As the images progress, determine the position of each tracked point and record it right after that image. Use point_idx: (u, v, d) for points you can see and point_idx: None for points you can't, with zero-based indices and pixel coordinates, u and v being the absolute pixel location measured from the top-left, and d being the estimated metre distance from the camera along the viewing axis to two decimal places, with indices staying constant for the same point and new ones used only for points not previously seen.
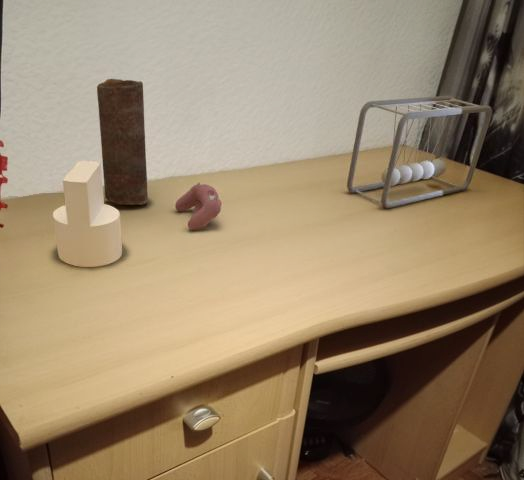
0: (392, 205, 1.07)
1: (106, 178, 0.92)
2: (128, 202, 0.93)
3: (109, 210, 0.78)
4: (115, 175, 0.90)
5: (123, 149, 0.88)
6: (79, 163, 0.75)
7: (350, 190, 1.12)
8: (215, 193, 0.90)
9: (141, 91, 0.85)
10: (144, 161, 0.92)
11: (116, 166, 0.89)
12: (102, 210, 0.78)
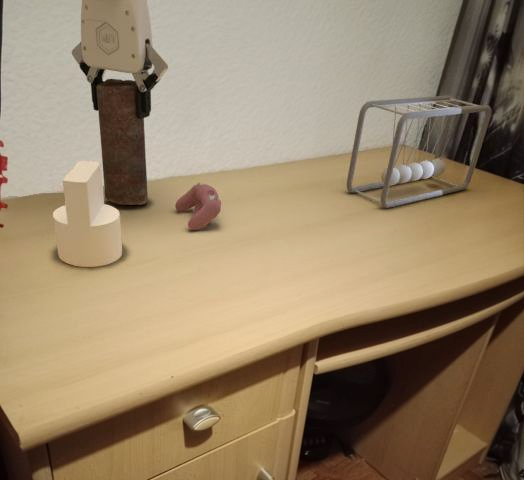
0: (392, 205, 1.07)
1: (106, 178, 0.92)
2: (128, 202, 0.93)
3: (109, 210, 0.78)
4: (115, 175, 0.90)
5: (123, 149, 0.88)
6: (79, 163, 0.75)
7: (350, 190, 1.12)
8: (215, 193, 0.90)
9: None
10: (144, 161, 0.92)
11: (116, 166, 0.89)
12: (102, 210, 0.78)
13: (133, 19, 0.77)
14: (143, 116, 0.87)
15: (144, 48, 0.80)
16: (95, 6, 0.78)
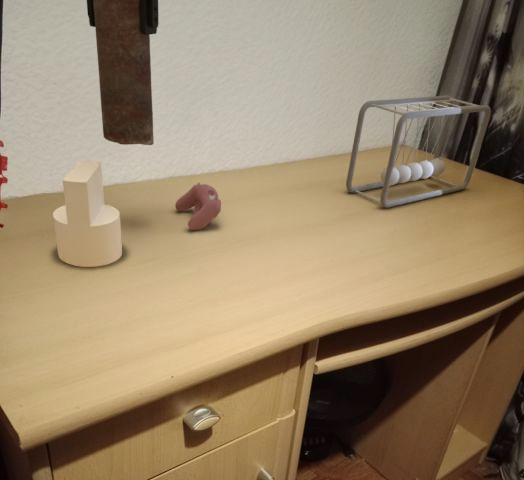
0: (391, 205, 1.07)
1: (105, 111, 0.77)
2: (131, 140, 0.79)
3: (109, 210, 0.78)
4: (115, 106, 0.76)
5: (125, 72, 0.73)
6: (79, 163, 0.75)
7: (349, 190, 1.12)
8: (215, 193, 0.90)
9: None
10: (149, 91, 0.77)
11: (116, 94, 0.75)
12: (102, 210, 0.78)
13: None
14: (149, 32, 0.72)
15: None
16: None
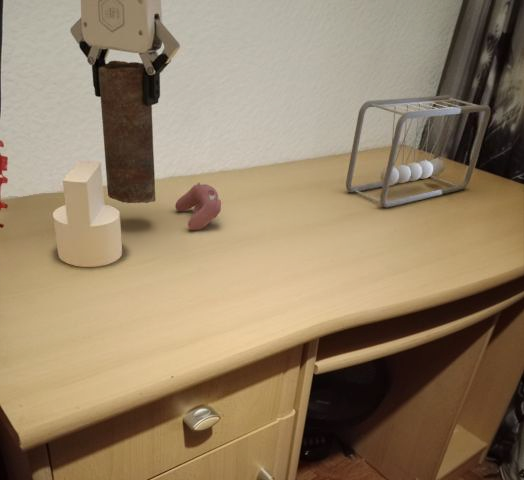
0: (391, 204, 1.07)
1: (109, 173, 0.82)
2: (134, 200, 0.83)
3: (109, 210, 0.78)
4: (119, 169, 0.80)
5: (128, 140, 0.78)
6: (79, 163, 0.75)
7: (349, 190, 1.12)
8: (215, 193, 0.90)
9: None
10: (151, 154, 0.82)
11: (120, 159, 0.79)
12: (102, 210, 0.78)
13: None
14: (151, 103, 0.77)
15: (153, 24, 0.70)
16: None
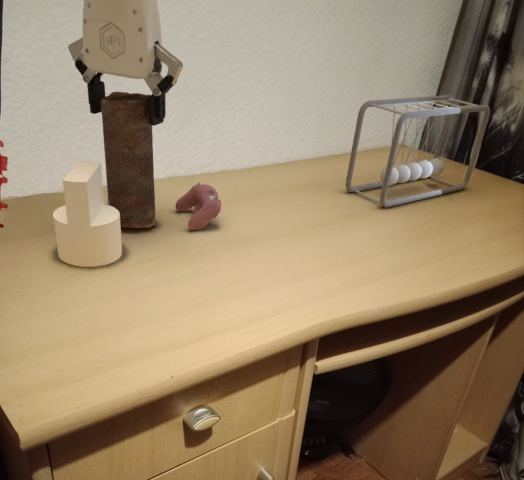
0: (391, 204, 1.07)
1: (111, 200, 0.84)
2: (134, 225, 0.86)
3: (109, 210, 0.78)
4: (120, 196, 0.83)
5: (129, 168, 0.80)
6: (79, 163, 0.75)
7: (349, 189, 1.12)
8: (215, 193, 0.90)
9: None
10: (152, 181, 0.84)
11: (121, 187, 0.82)
12: (102, 210, 0.78)
13: (141, 19, 0.69)
14: (157, 122, 0.78)
15: (153, 51, 0.72)
16: (99, 4, 0.70)
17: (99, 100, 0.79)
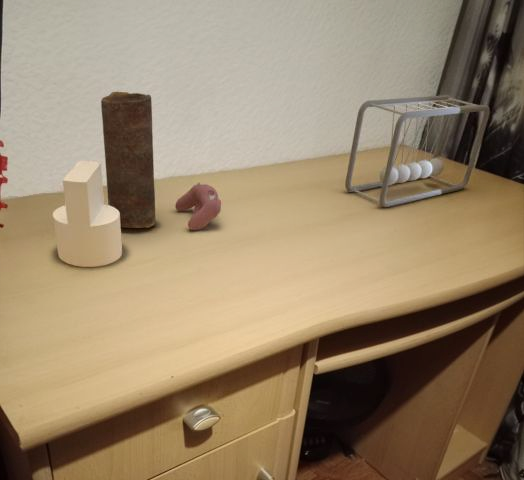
0: (390, 204, 1.07)
1: (111, 200, 0.84)
2: (134, 225, 0.86)
3: (109, 210, 0.78)
4: (121, 196, 0.83)
5: (130, 168, 0.80)
6: (79, 163, 0.75)
7: (348, 189, 1.12)
8: (215, 193, 0.90)
9: (149, 105, 0.78)
10: (152, 181, 0.84)
11: (121, 187, 0.82)
12: (103, 210, 0.78)
13: None
14: None
15: None
16: None
17: None
